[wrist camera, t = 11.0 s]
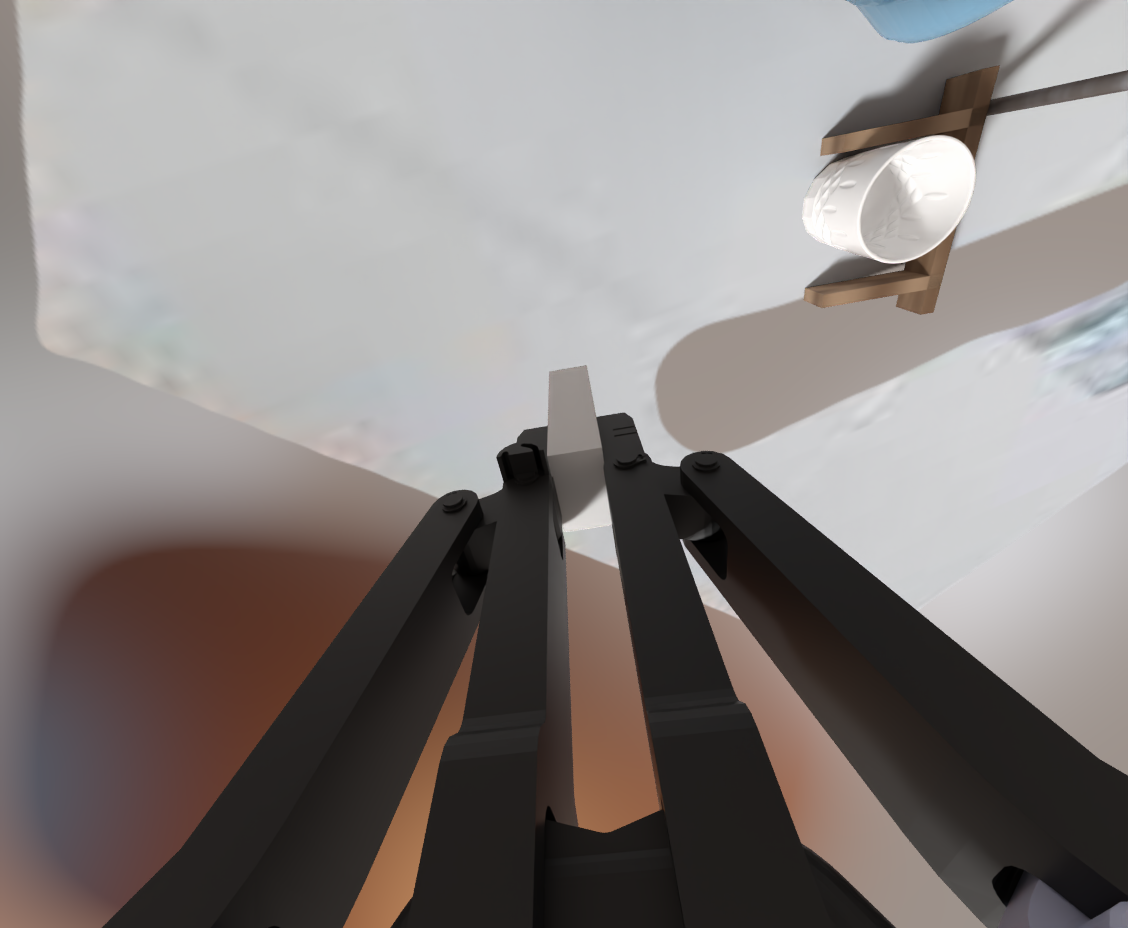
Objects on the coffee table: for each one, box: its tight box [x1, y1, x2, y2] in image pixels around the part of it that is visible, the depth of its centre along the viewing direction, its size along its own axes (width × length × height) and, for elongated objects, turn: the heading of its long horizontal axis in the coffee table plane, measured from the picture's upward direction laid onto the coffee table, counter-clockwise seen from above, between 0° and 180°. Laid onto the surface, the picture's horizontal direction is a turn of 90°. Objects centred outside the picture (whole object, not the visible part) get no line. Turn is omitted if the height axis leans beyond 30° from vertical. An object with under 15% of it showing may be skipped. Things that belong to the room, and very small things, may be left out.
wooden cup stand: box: [804, 65, 1128, 315], centre depth 33 cm, size 12×20×16 cm, turn 10°
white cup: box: [802, 135, 976, 263], centre depth 35 cm, size 8×8×10 cm
